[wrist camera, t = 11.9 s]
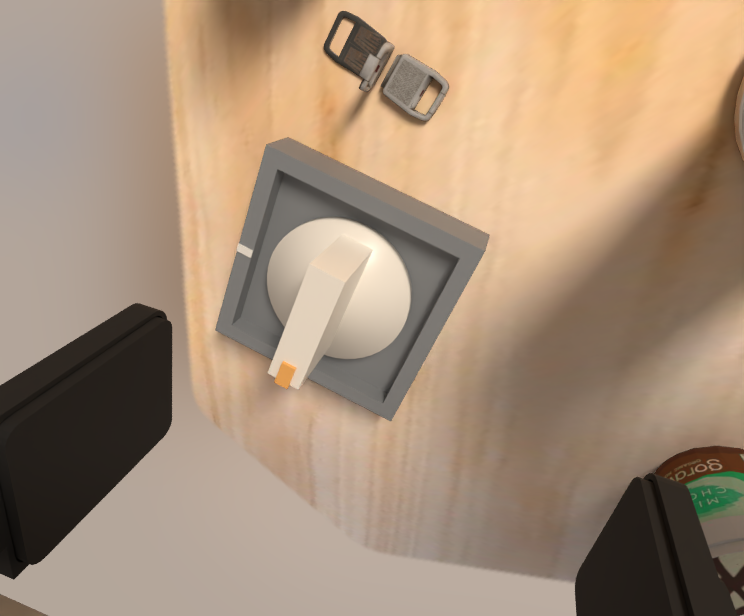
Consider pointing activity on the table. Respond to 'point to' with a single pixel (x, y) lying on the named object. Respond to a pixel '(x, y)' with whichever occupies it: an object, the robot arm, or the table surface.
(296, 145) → the dial plate
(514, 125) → the table surface
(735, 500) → the food container
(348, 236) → the dial
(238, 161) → the table surface
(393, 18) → the table surface
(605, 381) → the table surface
